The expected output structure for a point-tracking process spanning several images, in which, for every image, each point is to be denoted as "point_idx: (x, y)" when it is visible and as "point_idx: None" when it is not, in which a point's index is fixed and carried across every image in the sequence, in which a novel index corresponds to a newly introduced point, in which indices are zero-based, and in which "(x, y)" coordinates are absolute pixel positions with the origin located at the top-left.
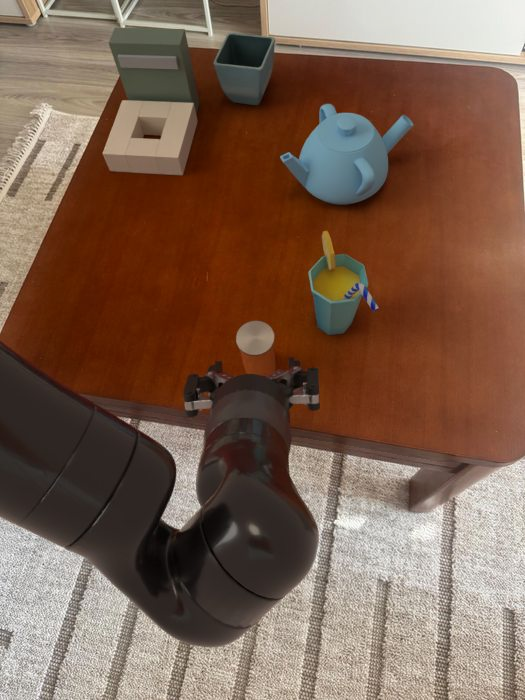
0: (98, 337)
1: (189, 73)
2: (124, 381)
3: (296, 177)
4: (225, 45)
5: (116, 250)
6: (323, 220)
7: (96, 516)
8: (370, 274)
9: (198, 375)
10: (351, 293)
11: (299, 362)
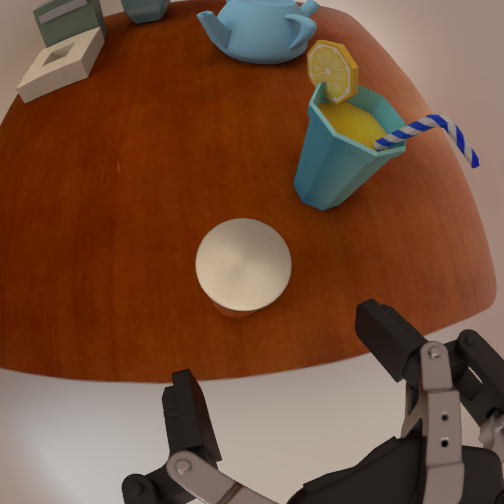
0: (9, 295)
1: (97, 8)
2: (49, 357)
3: (217, 36)
4: None
5: (19, 173)
6: (255, 77)
7: None
8: None
9: (152, 486)
10: (408, 136)
11: (394, 312)
